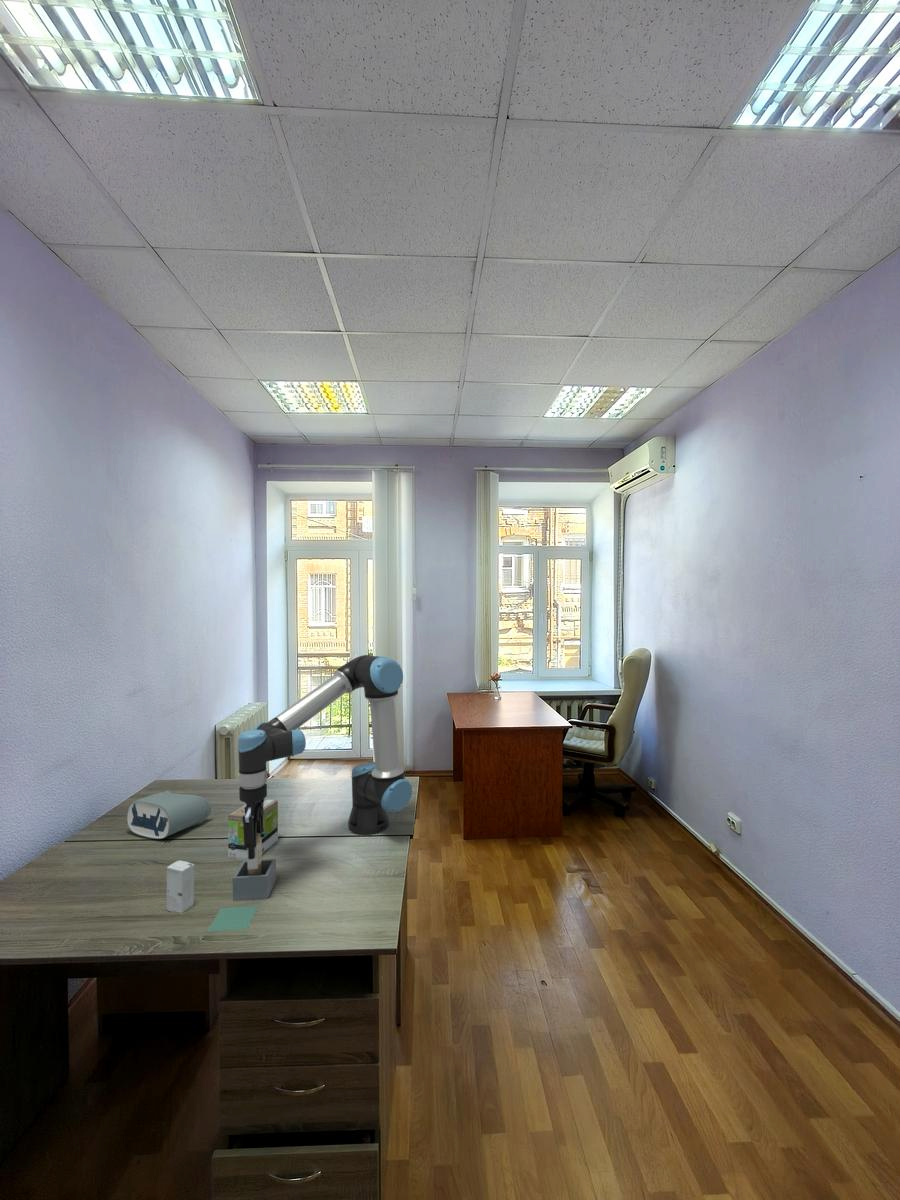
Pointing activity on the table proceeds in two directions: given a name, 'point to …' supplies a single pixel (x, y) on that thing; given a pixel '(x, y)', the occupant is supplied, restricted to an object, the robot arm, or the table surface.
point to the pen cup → (254, 882)
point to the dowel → (259, 870)
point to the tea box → (237, 829)
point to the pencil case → (166, 814)
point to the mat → (233, 918)
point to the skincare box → (180, 886)
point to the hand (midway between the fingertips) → (254, 864)
